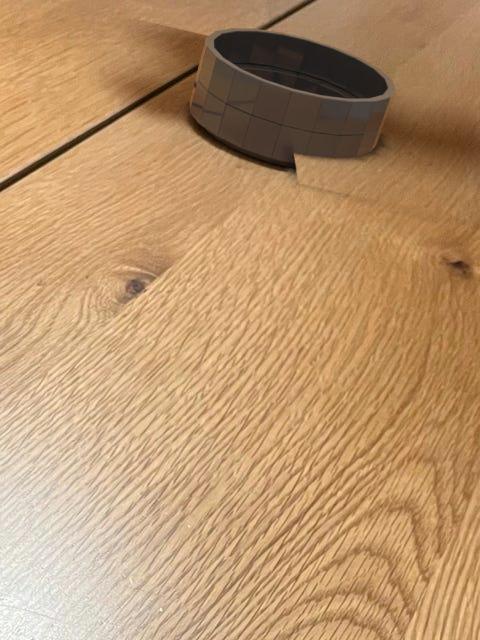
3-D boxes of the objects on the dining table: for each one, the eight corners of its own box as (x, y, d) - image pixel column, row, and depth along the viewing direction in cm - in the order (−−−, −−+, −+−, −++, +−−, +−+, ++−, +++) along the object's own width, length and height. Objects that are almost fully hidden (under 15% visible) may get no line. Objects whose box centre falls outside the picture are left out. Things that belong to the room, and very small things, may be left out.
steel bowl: (359, 126, 101) (383, 55, 97) (378, 192, 91) (406, 117, 88) (186, 86, 100) (204, 14, 97) (187, 149, 91) (208, 71, 87)
